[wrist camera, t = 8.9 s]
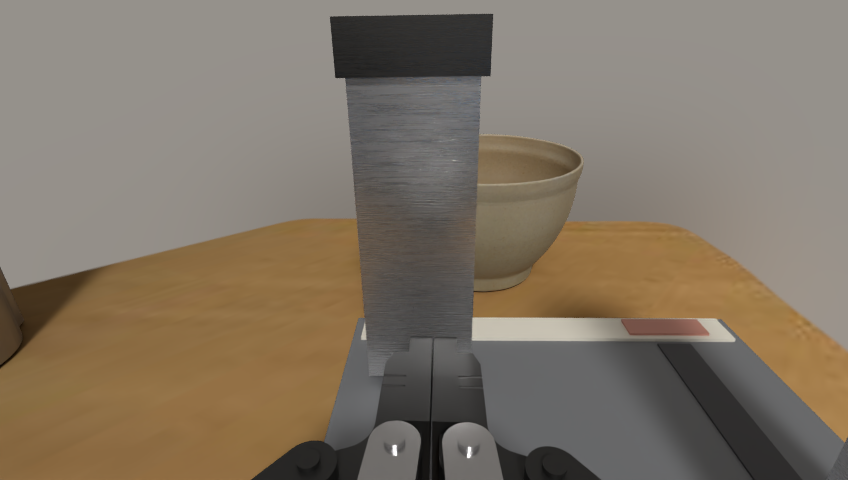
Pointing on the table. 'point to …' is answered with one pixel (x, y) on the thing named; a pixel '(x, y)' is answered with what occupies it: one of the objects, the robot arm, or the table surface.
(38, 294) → the table surface
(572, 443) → the switch unit
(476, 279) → the planter bowl
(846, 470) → the lever
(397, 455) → the robot arm
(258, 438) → the table surface
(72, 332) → the table surface
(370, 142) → the lever
